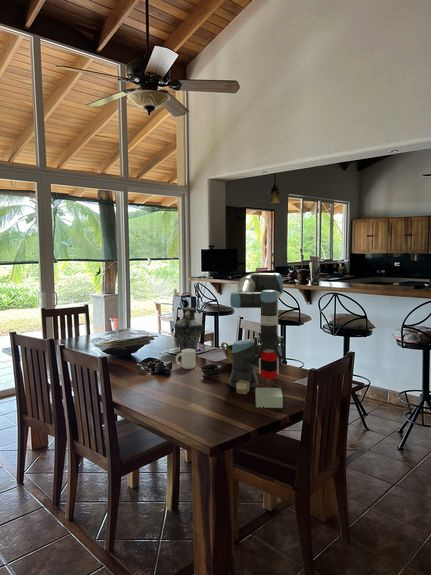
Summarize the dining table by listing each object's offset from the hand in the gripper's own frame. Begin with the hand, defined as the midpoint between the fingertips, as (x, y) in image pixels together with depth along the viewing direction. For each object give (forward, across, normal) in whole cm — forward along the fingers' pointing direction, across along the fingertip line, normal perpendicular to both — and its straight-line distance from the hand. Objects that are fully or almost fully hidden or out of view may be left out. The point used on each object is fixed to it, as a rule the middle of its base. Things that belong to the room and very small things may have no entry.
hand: (268, 372), depth 197 cm
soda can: (+2, 0, 0) cm, 2 cm away
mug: (+14, -47, +54) cm, 73 cm away
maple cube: (+14, -12, +14) cm, 24 cm away
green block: (+14, 0, 0) cm, 14 cm away
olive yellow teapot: (+14, -15, +61) cm, 65 cm away
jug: (+14, -50, +91) cm, 105 cm away
